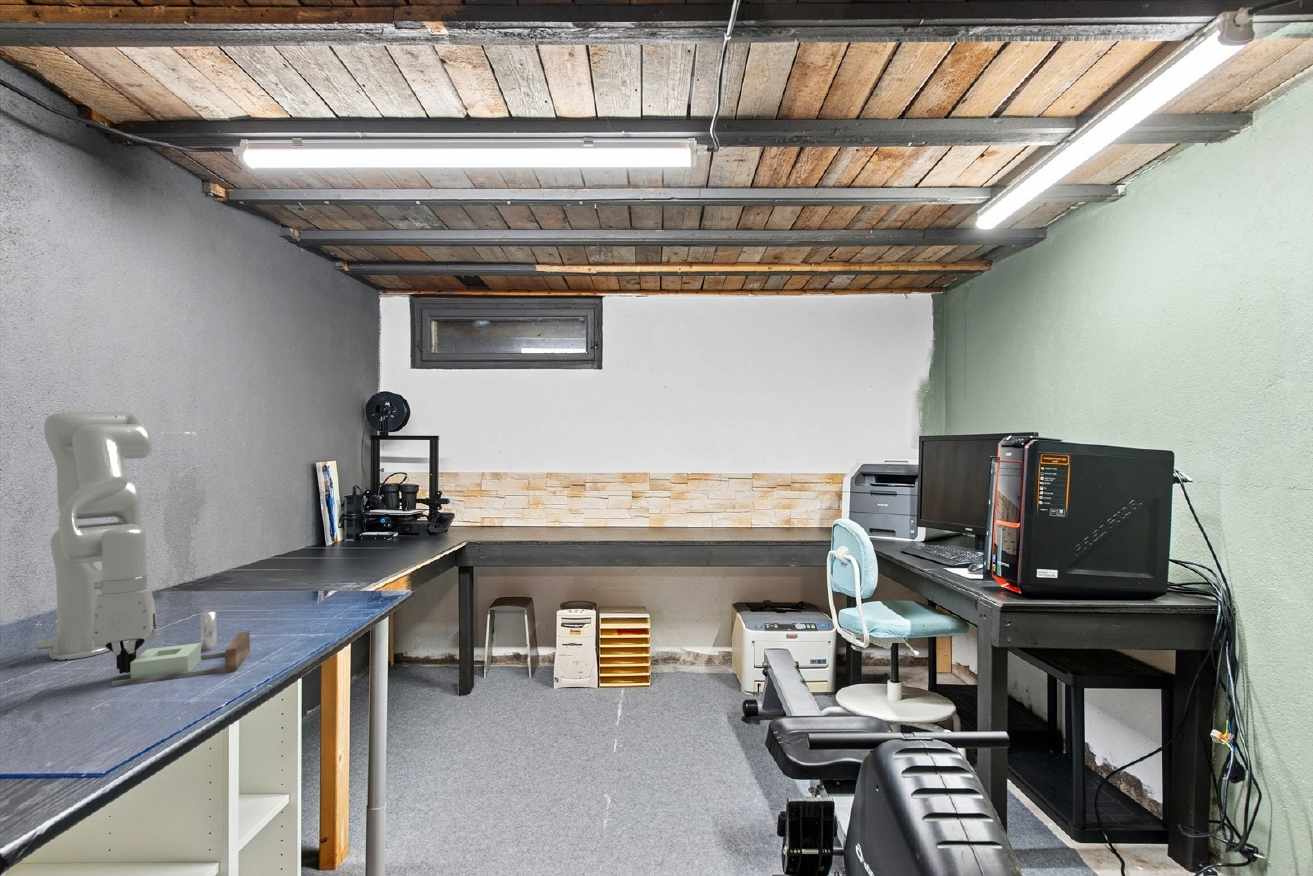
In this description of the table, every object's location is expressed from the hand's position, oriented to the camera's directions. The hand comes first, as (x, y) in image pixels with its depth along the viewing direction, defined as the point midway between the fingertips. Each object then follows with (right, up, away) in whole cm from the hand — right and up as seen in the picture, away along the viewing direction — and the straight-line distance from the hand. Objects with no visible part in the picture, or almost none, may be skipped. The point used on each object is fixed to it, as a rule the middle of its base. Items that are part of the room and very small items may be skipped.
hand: (126, 671), depth 140 cm
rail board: (+8, -2, +3) cm, 9 cm away
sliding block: (+7, -1, +3) cm, 7 cm away
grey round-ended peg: (+5, -2, +18) cm, 19 cm away
